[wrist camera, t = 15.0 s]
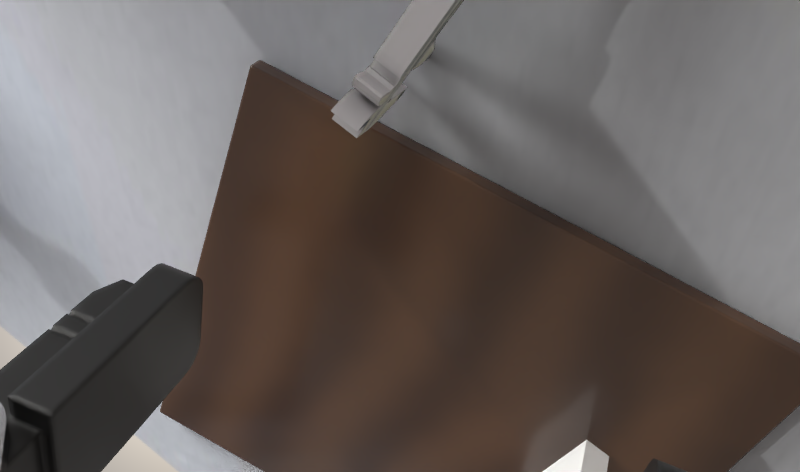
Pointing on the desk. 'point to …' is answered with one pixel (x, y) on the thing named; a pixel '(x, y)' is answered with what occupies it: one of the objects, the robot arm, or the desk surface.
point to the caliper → (393, 64)
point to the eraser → (582, 460)
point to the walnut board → (446, 319)
